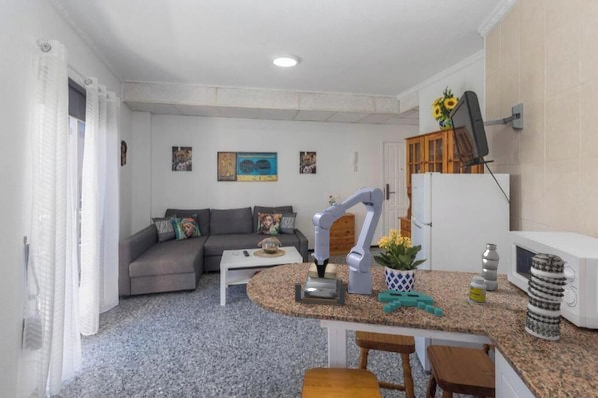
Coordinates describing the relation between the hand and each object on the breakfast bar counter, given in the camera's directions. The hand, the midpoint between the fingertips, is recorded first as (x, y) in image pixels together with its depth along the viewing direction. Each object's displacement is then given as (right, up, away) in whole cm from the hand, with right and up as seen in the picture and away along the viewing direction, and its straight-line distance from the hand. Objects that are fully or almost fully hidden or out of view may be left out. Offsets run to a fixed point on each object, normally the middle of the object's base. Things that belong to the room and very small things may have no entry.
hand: (321, 277), depth 115 cm
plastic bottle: (+74, -9, +13) cm, 76 cm away
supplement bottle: (+61, -10, -1) cm, 62 cm away
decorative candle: (+68, -12, -23) cm, 73 cm away
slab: (+2, -2, +15) cm, 16 cm away
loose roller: (0, -8, -1) cm, 8 cm away
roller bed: (+1, -8, +9) cm, 12 cm away
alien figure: (+33, -10, -2) cm, 34 cm away
